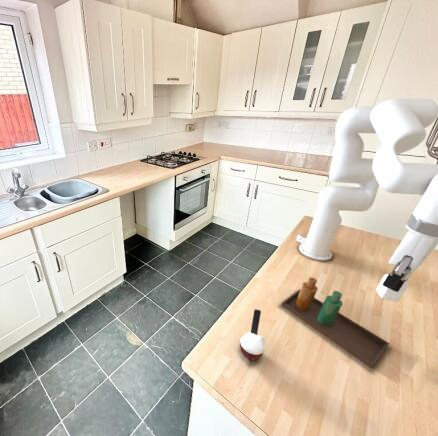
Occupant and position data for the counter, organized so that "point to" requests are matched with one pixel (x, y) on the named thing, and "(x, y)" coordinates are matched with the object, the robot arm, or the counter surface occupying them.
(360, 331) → the tray
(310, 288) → the amber bottle
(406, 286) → the salt shaker
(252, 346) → the cocoa
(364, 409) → the counter surface
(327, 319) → the green bottle
